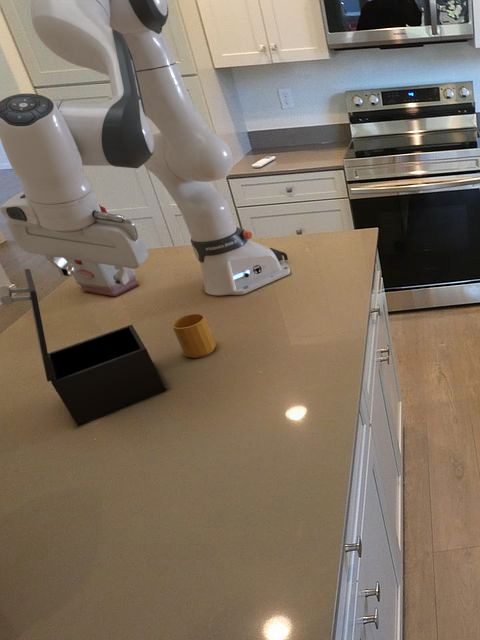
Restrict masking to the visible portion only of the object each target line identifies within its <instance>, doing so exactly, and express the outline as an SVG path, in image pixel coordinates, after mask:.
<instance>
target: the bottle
mask: <svg viewBox="0 0 480 640" xmlns="http://www.w3.org/2000/svg"><path fill="white" fill-rule="evenodd" d="M98 204H99V206H100V209H101V212H105V213H108V212H107V209H106V207H103V206H102V205H100V203H98ZM64 259H65V260H66V261H67V262H68V263H72V264H73V266H74V269H75V271H76V272H75V274H73V275H72V277H73V278H74V280H75V282H76V283H77V284H78V285H79V286H80V291H82V292H83V291H84V292H88V293H94V294H99V295H106V296H109V297H110V296H111V297H117V296H119V295H122V294H124V293H126V292H127V291H129V290H131V289H134V288H135V287H137V286H138V284H139V283H140V281H139V280H138V279H137V274H136V272H135V269H132V268H129V269H128V272H127V274H128V277H129V281H128V283H127V284H126V285H122V284H116V283H115V280H114V278H113V276H114V275H115V274H117V272H118V271H119V270H116V269H115V266H113V265H106V264H99V263H93V262H86V261H80V260H73V259H67V258H64Z"/></svg>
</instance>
